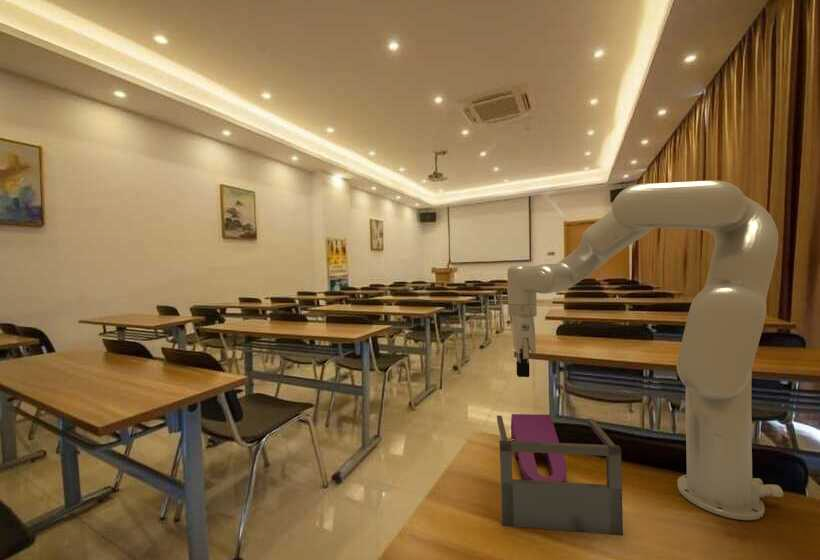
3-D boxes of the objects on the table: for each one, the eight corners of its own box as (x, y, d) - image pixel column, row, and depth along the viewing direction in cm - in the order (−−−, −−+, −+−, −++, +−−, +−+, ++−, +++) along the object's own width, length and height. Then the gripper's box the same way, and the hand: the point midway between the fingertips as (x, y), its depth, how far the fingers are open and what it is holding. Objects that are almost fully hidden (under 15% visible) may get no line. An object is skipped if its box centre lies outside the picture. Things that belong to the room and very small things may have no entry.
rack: (596, 491, 71) (595, 418, 71) (623, 535, 59) (621, 448, 59) (496, 484, 74) (494, 415, 74) (502, 525, 62) (499, 443, 62)
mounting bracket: (568, 510, 74) (547, 437, 90) (572, 485, 70) (550, 414, 86) (522, 507, 76) (510, 436, 91) (524, 483, 72) (511, 413, 88)
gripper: (542, 313, 88) (543, 385, 88) (531, 307, 102) (532, 368, 103) (511, 313, 89) (512, 384, 89) (505, 307, 104) (506, 368, 104)
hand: (523, 375), depth 96 cm, fingers closed
